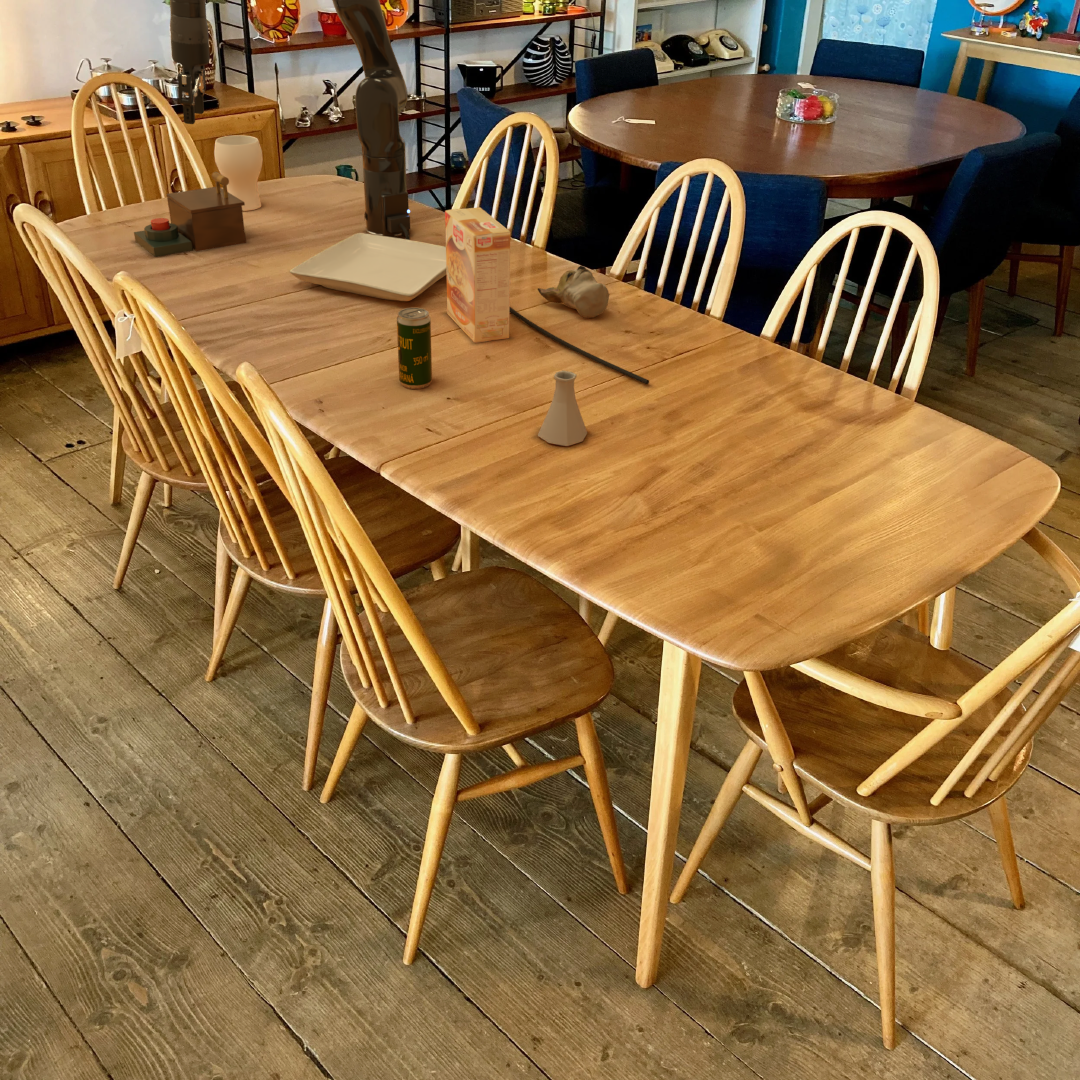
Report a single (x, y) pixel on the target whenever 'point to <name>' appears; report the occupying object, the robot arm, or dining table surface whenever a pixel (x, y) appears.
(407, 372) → the green soda can
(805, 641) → the dining table surface
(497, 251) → the coffeecake box
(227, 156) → the cup
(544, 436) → the flask
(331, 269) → the square plate
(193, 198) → the chest lid
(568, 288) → the ceramic sculpture
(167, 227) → the button
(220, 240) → the chest
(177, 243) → the green button base
